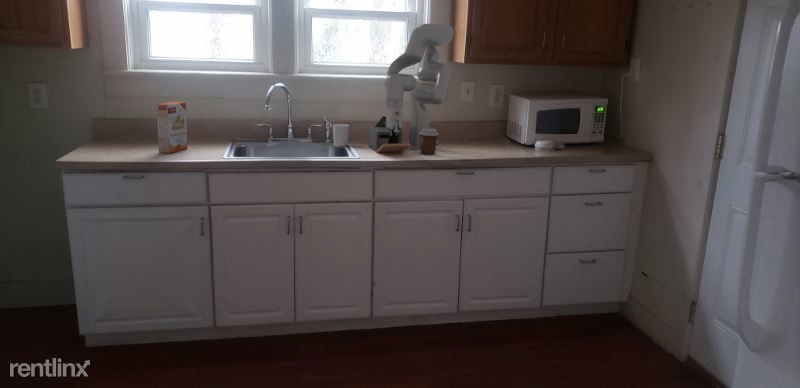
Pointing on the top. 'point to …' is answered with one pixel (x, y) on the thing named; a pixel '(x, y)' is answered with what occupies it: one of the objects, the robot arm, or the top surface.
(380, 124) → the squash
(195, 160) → the top surface
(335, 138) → the white cup
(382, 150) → the side door
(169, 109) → the cracker box
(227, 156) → the top surface
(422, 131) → the coffee cup
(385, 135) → the case
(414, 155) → the top surface
